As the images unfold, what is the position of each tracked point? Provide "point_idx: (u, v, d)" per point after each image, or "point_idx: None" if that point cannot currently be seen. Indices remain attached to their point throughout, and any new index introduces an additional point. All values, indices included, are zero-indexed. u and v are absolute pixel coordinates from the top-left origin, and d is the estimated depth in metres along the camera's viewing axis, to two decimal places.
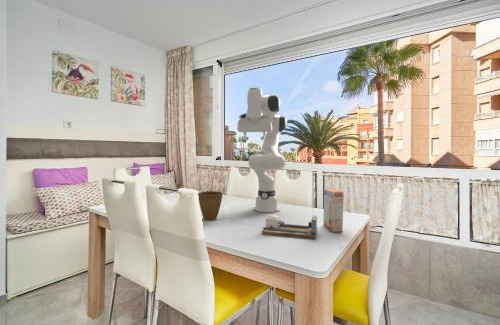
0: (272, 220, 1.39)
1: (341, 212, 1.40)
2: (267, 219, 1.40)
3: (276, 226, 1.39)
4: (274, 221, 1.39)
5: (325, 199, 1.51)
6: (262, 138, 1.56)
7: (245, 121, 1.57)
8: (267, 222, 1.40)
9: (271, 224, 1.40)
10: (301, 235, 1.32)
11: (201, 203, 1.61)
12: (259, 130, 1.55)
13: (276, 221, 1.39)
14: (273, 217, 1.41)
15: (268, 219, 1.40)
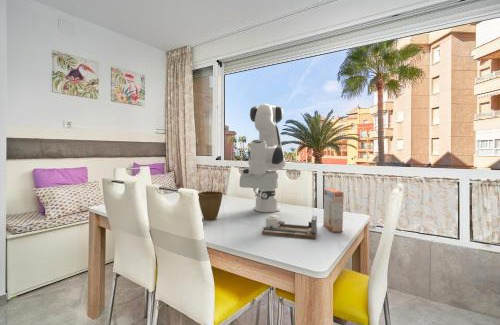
0: (272, 220, 1.39)
1: (341, 212, 1.40)
2: (267, 219, 1.40)
3: (276, 226, 1.39)
4: (274, 221, 1.39)
5: (325, 199, 1.51)
6: (259, 195, 1.43)
7: (248, 176, 1.43)
8: (267, 222, 1.40)
9: (271, 224, 1.40)
10: (301, 235, 1.32)
11: (201, 203, 1.61)
12: (263, 187, 1.42)
13: (276, 221, 1.39)
14: (273, 217, 1.41)
15: (268, 219, 1.40)
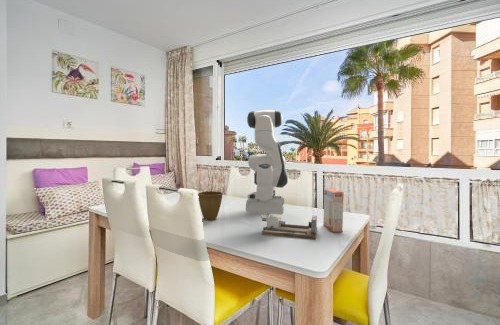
0: (273, 220, 1.39)
1: (341, 212, 1.40)
2: (268, 219, 1.40)
3: (277, 226, 1.39)
4: (275, 221, 1.39)
5: (325, 199, 1.51)
6: (265, 220, 1.43)
7: (254, 201, 1.43)
8: (268, 222, 1.40)
9: (272, 224, 1.40)
10: (301, 235, 1.32)
11: (201, 203, 1.61)
12: (269, 212, 1.41)
13: (277, 221, 1.39)
14: (274, 217, 1.41)
15: (269, 219, 1.40)
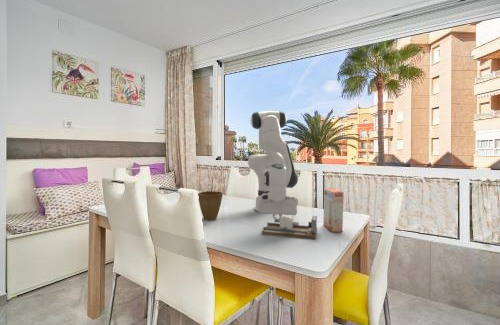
0: (286, 221, 1.37)
1: (341, 212, 1.40)
2: (281, 220, 1.38)
3: (290, 227, 1.37)
4: (288, 222, 1.37)
5: (325, 199, 1.51)
6: (278, 221, 1.41)
7: (267, 202, 1.41)
8: (281, 223, 1.38)
9: (285, 225, 1.38)
10: (301, 235, 1.32)
11: (201, 203, 1.61)
12: (283, 213, 1.39)
13: (290, 222, 1.37)
14: (287, 218, 1.39)
15: (282, 220, 1.38)
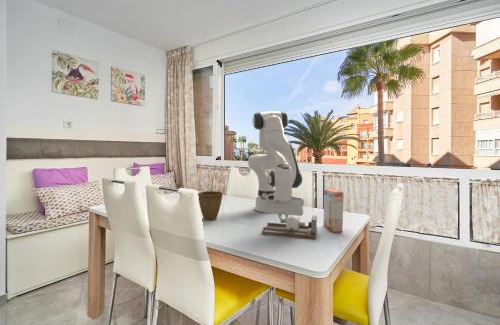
0: (292, 222, 1.36)
1: (341, 212, 1.40)
2: (287, 221, 1.37)
3: (296, 228, 1.36)
4: (294, 223, 1.36)
5: (325, 199, 1.51)
6: (284, 221, 1.40)
7: (273, 202, 1.40)
8: (287, 224, 1.37)
9: (291, 226, 1.37)
10: (301, 235, 1.32)
11: (201, 203, 1.61)
12: (289, 213, 1.38)
13: (296, 223, 1.36)
14: (293, 219, 1.38)
15: (288, 221, 1.37)
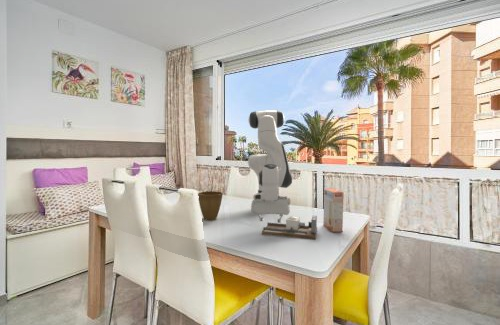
0: (292, 222, 1.36)
1: (341, 212, 1.40)
2: (287, 221, 1.37)
3: (296, 228, 1.36)
4: (294, 223, 1.36)
5: (325, 199, 1.51)
6: (279, 221, 1.41)
7: (260, 202, 1.42)
8: (287, 224, 1.37)
9: (291, 226, 1.37)
10: (301, 235, 1.32)
11: (201, 203, 1.61)
12: (275, 213, 1.40)
13: (297, 223, 1.36)
14: (293, 219, 1.38)
15: (288, 221, 1.37)
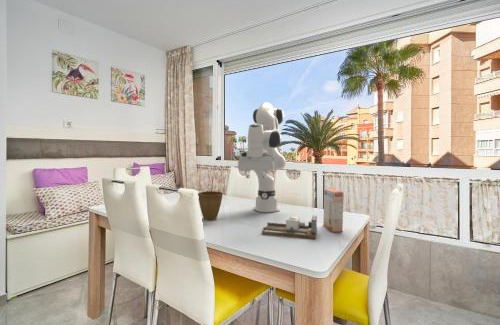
0: (292, 222, 1.36)
1: (341, 212, 1.40)
2: (287, 221, 1.37)
3: (296, 228, 1.36)
4: (294, 223, 1.36)
5: (325, 199, 1.51)
6: (264, 177, 1.50)
7: (246, 159, 1.50)
8: (287, 224, 1.37)
9: (291, 226, 1.37)
10: (301, 235, 1.32)
11: (201, 203, 1.61)
12: (260, 169, 1.49)
13: (297, 223, 1.36)
14: (293, 219, 1.38)
15: (288, 221, 1.37)
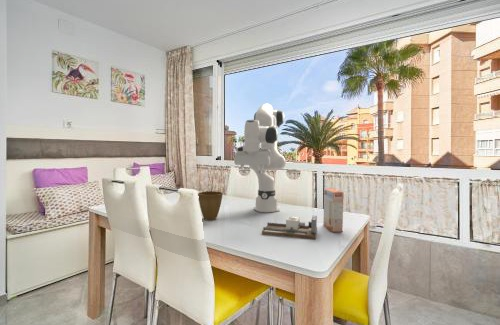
0: (292, 222, 1.36)
1: (341, 212, 1.40)
2: (287, 221, 1.37)
3: (296, 228, 1.36)
4: (294, 223, 1.36)
5: (325, 199, 1.51)
6: (260, 172, 1.51)
7: (242, 154, 1.53)
8: (287, 224, 1.37)
9: (291, 226, 1.37)
10: (301, 235, 1.32)
11: (201, 203, 1.61)
12: (256, 164, 1.51)
13: (297, 223, 1.36)
14: (293, 219, 1.38)
15: (288, 221, 1.37)
